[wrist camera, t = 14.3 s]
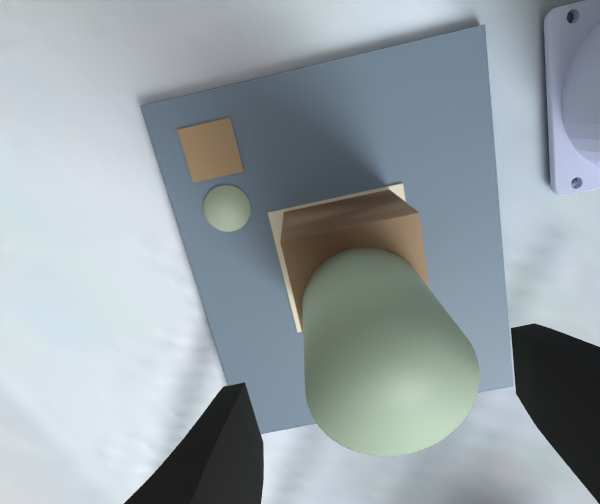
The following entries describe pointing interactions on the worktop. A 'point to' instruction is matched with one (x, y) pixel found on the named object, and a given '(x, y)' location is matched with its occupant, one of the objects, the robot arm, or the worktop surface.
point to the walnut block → (349, 235)
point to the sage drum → (383, 356)
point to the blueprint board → (336, 196)
